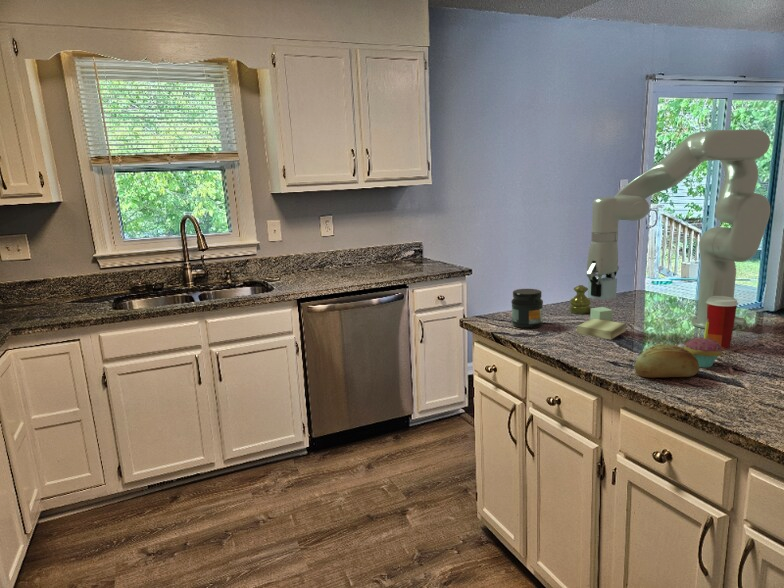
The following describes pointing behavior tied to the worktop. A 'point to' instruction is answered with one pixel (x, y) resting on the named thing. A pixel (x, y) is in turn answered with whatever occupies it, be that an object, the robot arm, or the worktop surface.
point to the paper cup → (721, 319)
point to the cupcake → (704, 349)
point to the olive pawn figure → (580, 301)
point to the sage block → (601, 313)
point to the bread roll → (666, 362)
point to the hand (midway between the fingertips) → (602, 293)
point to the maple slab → (601, 328)
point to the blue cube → (605, 288)
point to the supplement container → (527, 308)
